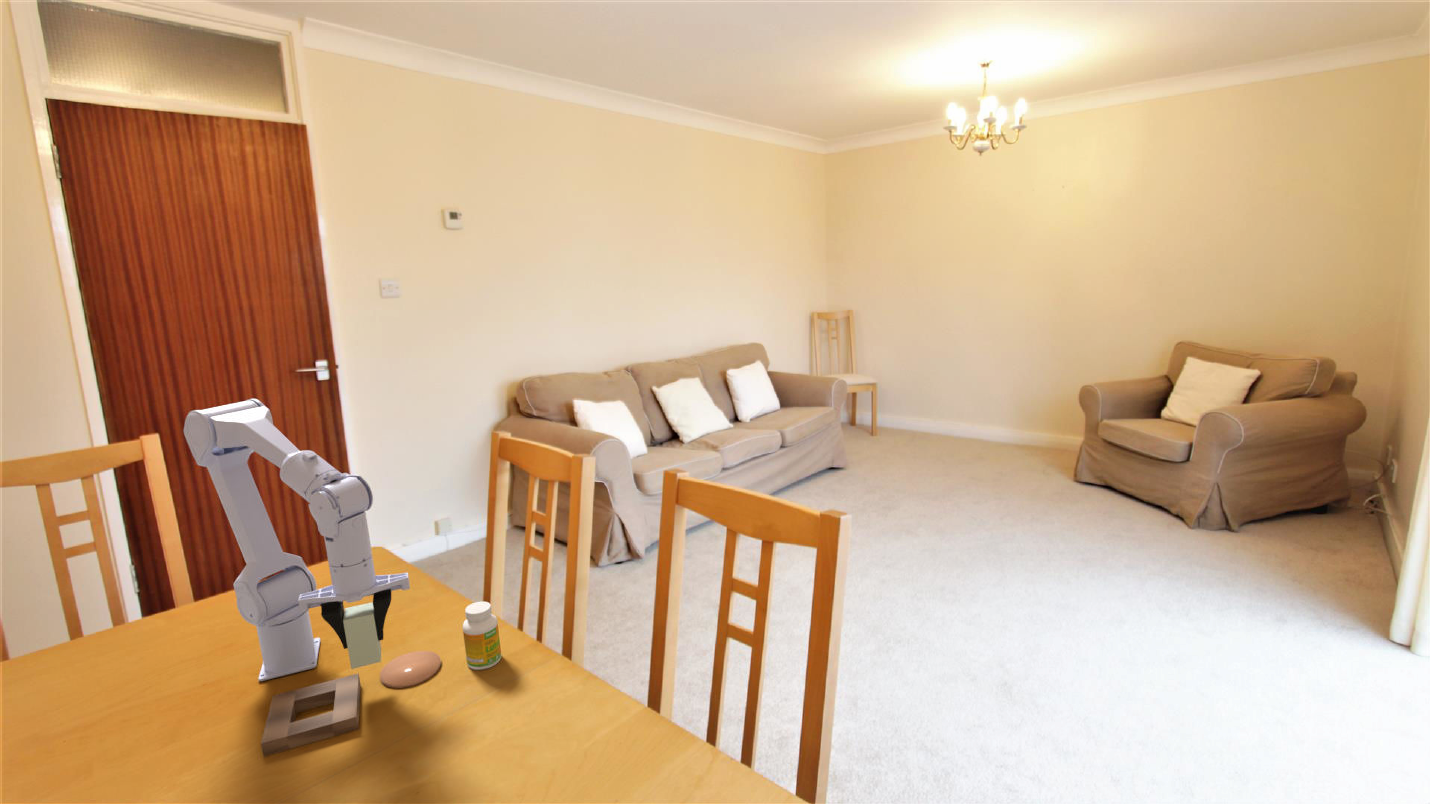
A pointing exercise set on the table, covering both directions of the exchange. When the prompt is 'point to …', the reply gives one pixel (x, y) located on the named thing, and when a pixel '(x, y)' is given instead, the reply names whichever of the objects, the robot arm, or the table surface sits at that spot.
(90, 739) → the table surface
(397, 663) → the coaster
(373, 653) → the peg
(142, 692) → the table surface
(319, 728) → the block
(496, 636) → the supplement bottle
